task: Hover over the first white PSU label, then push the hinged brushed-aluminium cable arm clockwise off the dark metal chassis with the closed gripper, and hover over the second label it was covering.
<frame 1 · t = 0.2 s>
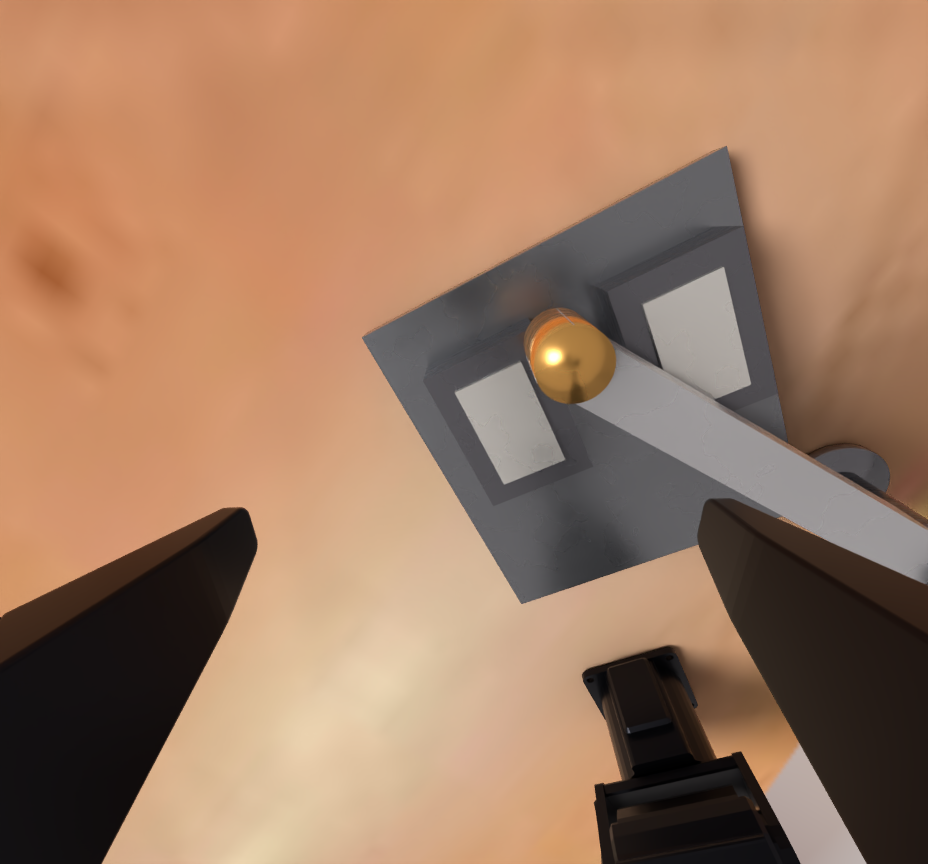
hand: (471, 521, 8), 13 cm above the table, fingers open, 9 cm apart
chassis: (594, 422, 22), on the table
cable arm: (738, 450, 15), point 6 cm above the table, hinge at 0.0°
pivot post: (828, 485, 23), on the table
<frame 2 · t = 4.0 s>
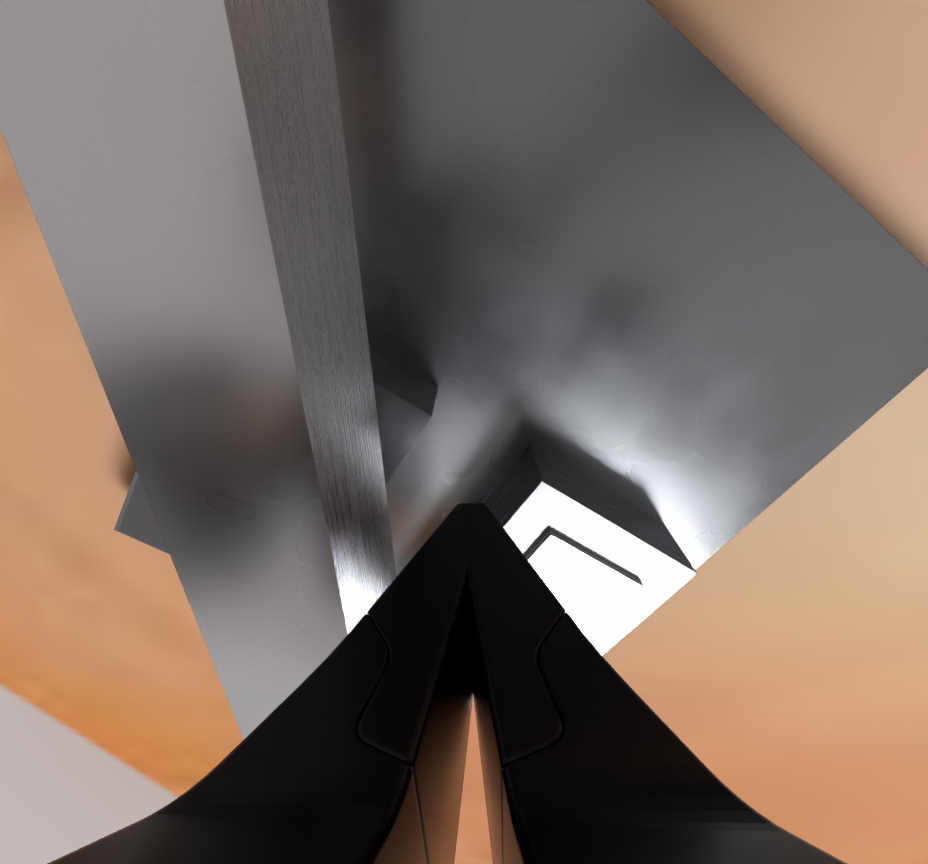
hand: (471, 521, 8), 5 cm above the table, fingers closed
chassis: (489, 424, 13), on the table
cable arm: (287, 447, 6), point 6 cm above the table, hinge at -0.7°, touching gripper
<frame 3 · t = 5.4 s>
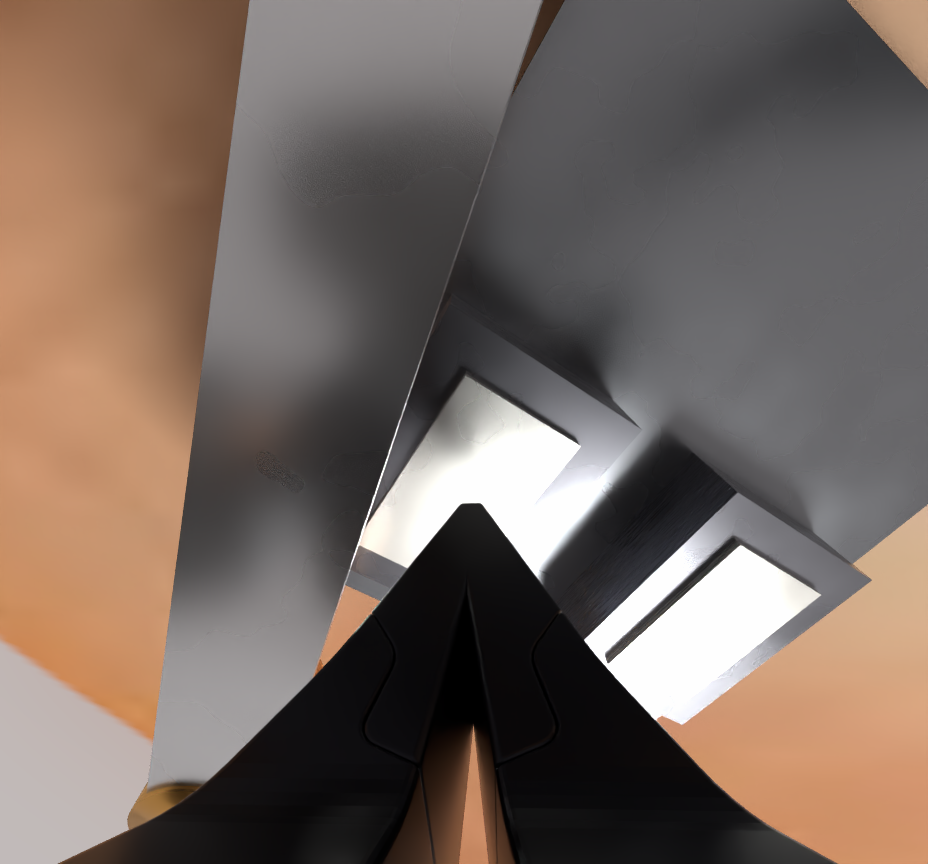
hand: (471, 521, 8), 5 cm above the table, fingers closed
chassis: (642, 435, 13), on the table
cable arm: (324, 423, 6), point 6 cm above the table, hinge at -23.0°, touching gripper
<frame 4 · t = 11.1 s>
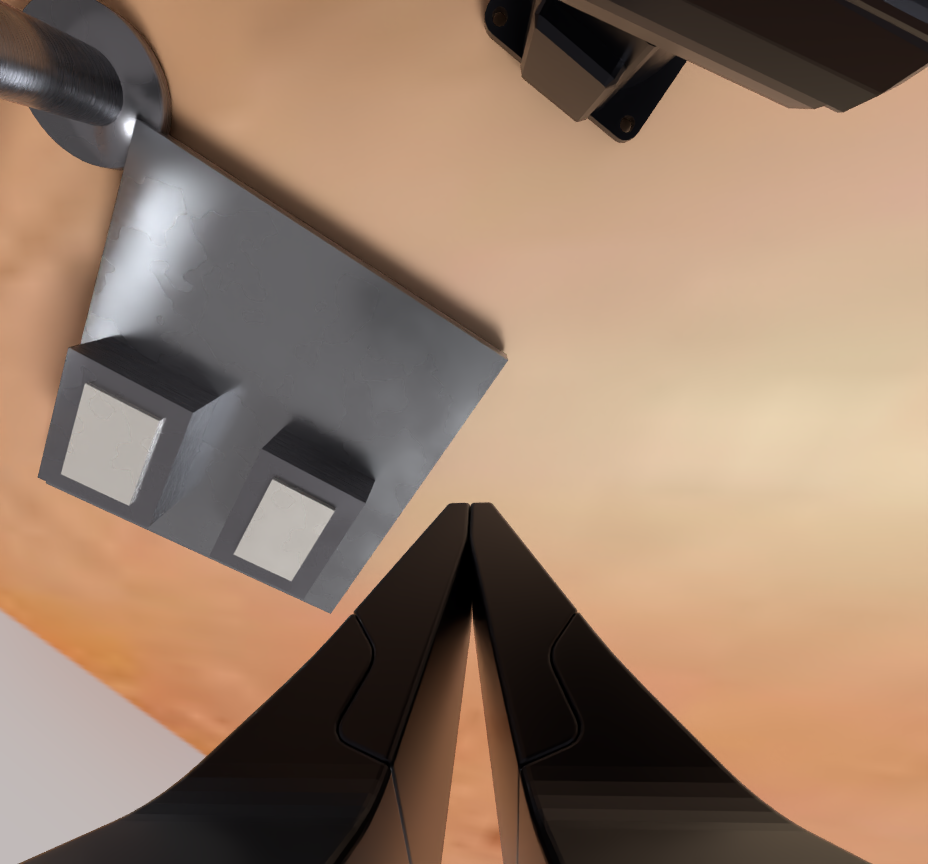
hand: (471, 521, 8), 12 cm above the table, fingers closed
chassis: (266, 418, 21), on the table
pivot post: (101, 90, 16), on the table
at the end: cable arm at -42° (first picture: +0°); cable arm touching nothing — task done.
